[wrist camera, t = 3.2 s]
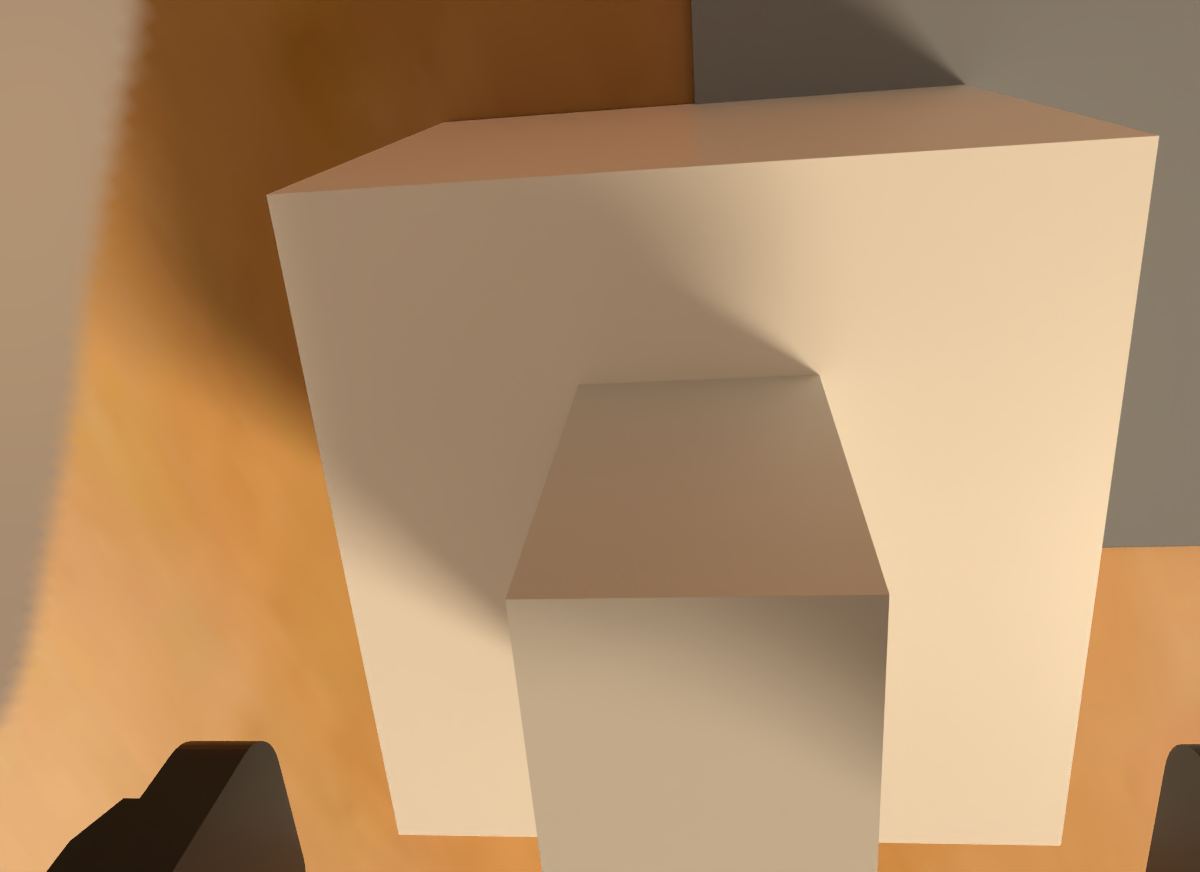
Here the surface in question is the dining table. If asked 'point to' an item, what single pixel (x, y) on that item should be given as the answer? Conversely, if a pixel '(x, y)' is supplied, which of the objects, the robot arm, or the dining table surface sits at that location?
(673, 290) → the cream plinth with post
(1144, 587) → the dining table surface
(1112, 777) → the dining table surface
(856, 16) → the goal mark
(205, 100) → the dining table surface
